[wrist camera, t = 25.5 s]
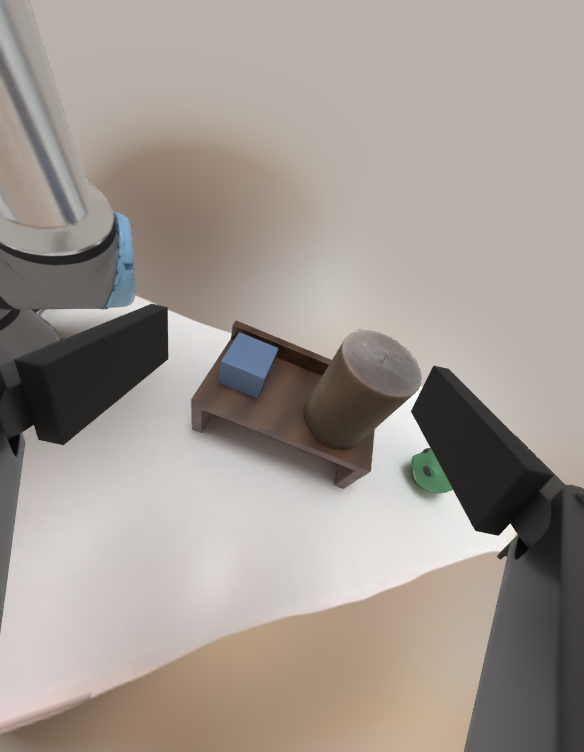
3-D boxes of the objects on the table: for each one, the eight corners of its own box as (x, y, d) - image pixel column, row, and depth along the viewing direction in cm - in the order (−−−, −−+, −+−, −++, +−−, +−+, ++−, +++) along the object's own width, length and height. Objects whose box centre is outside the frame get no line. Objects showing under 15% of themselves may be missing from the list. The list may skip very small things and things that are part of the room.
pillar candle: (328, 461, 36) (390, 404, 24) (291, 402, 40) (329, 329, 28) (377, 432, 41) (447, 374, 29) (339, 382, 45) (388, 313, 33)
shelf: (191, 429, 43) (190, 387, 34) (228, 366, 52) (235, 320, 42) (343, 488, 44) (382, 464, 35) (354, 417, 53) (387, 382, 44)
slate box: (218, 383, 38) (220, 361, 35) (235, 354, 42) (239, 331, 38) (257, 398, 39) (264, 378, 35) (271, 369, 43) (278, 348, 39)
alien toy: (400, 450, 51) (436, 427, 43) (437, 467, 51) (480, 447, 43) (398, 486, 47) (437, 467, 39) (438, 505, 47) (486, 490, 39)
